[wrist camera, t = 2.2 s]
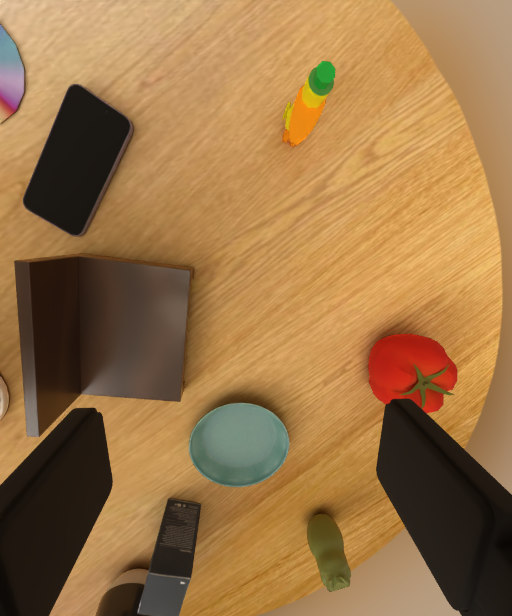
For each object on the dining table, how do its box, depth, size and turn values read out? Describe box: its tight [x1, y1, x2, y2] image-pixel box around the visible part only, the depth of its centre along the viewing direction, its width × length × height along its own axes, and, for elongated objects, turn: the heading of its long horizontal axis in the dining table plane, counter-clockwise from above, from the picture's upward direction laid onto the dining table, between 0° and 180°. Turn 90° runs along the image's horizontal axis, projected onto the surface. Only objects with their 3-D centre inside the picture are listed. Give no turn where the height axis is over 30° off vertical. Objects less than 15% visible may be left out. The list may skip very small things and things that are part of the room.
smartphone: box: [23, 84, 133, 236], centre depth 32 cm, size 7×1×15 cm
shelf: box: [14, 253, 194, 437], centre depth 32 cm, size 14×18×11 cm
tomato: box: [368, 334, 457, 413], centre depth 38 cm, size 11×11×9 cm
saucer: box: [189, 403, 289, 487], centre depth 42 cm, size 15×15×3 cm
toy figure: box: [282, 61, 335, 147], centre depth 27 cm, size 7×4×12 cm, turn 157°
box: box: [138, 498, 201, 616], centre depth 41 cm, size 8×6×11 cm
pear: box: [307, 514, 351, 592], centre depth 44 cm, size 6×5×10 cm
